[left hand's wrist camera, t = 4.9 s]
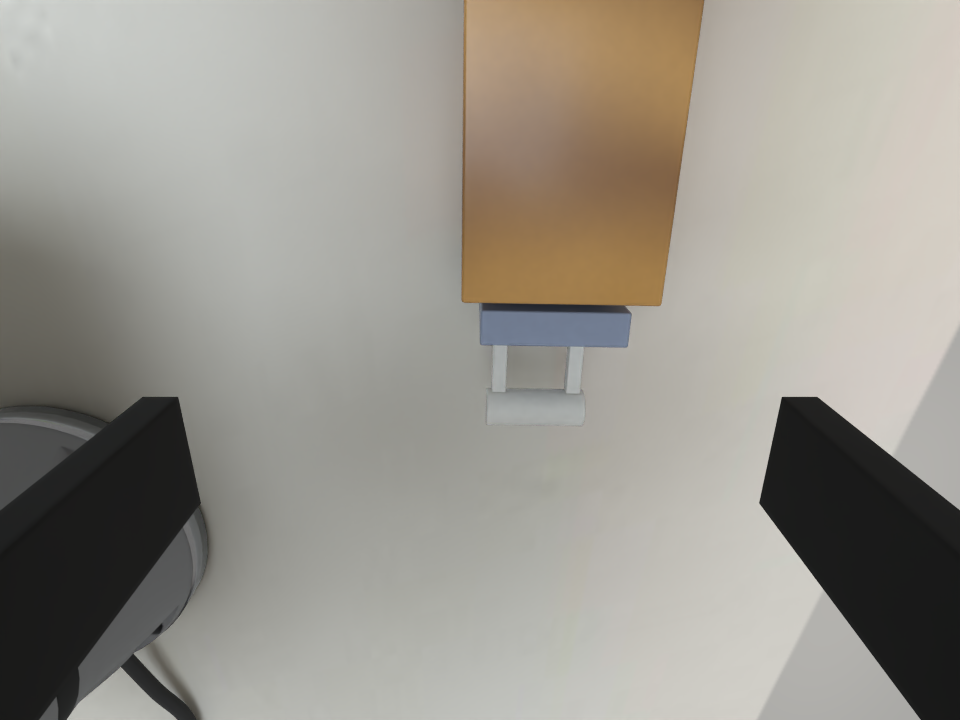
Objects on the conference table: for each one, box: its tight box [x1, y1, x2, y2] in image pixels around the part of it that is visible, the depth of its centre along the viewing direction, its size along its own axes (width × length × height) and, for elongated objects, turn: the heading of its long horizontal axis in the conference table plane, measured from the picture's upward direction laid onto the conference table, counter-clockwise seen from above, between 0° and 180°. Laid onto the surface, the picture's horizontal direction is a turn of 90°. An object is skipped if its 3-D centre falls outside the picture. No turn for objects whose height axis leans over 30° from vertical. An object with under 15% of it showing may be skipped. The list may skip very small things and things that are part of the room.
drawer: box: [479, 303, 631, 426], centre depth 20 cm, size 24×5×8 cm, turn 179°
